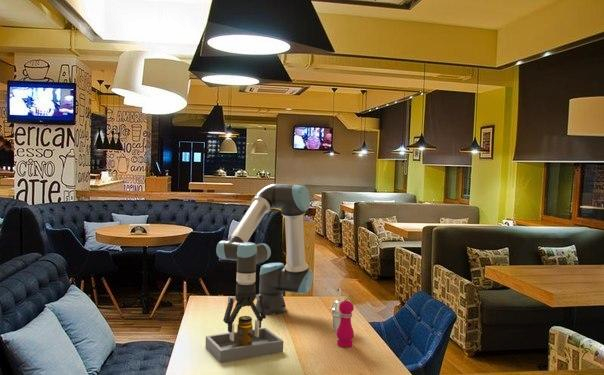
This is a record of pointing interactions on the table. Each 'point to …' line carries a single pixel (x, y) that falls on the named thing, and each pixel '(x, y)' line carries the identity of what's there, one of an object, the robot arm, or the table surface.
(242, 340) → the condiment
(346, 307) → the pepper mill
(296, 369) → the table surface
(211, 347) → the tray
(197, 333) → the table surface
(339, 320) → the cup with straw
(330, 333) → the table surface
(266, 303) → the robot arm
